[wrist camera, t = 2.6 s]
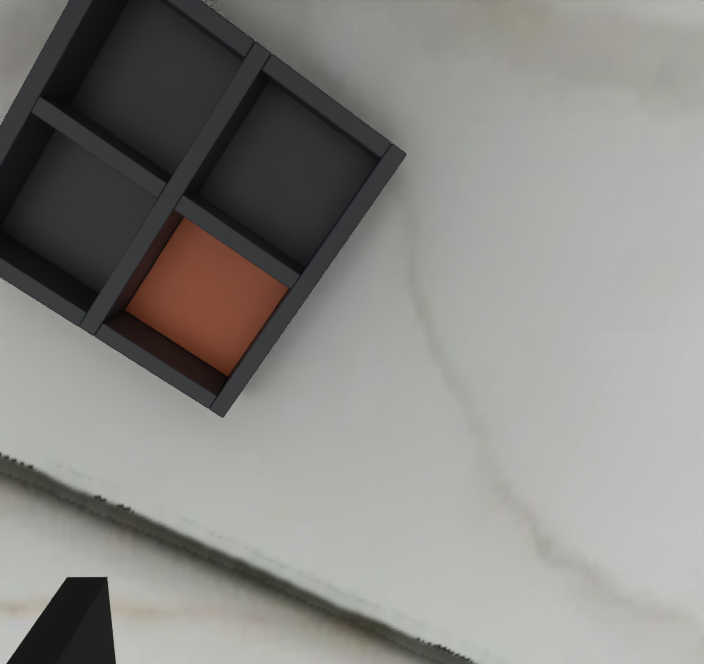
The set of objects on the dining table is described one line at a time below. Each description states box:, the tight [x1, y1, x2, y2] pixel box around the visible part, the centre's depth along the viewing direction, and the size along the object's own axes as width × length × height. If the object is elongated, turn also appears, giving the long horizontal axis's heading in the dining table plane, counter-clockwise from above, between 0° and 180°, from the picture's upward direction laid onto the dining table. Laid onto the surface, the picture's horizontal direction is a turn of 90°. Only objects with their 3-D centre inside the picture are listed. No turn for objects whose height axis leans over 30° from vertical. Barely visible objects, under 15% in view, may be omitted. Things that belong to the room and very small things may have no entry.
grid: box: [0, 0, 406, 418], centre depth 28 cm, size 15×15×4 cm
